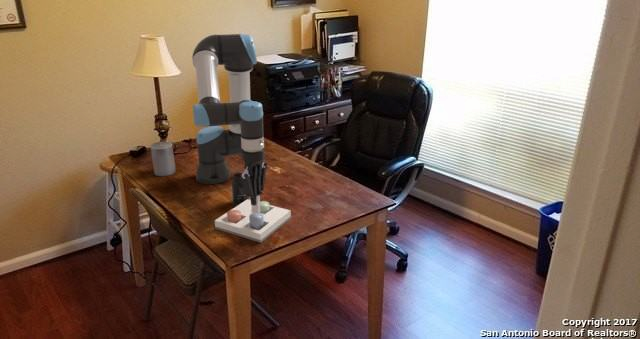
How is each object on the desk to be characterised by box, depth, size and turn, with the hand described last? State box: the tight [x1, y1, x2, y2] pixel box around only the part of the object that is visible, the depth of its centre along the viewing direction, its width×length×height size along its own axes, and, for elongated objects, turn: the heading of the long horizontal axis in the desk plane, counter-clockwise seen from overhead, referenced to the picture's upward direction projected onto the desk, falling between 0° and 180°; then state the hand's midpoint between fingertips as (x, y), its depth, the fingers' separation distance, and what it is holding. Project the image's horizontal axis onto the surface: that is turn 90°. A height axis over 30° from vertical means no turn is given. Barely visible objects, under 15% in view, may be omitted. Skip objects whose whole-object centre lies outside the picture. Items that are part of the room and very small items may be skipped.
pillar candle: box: [149, 141, 177, 177], centre depth 215 cm, size 10×10×15 cm
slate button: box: [249, 213, 264, 229], centre depth 166 cm, size 5×5×4 cm
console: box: [214, 198, 292, 244], centre depth 173 cm, size 20×20×3 cm
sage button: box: [260, 200, 270, 214], centre depth 177 cm, size 5×5×4 cm
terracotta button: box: [226, 209, 241, 224], centre depth 170 cm, size 5×5×4 cm
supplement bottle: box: [230, 172, 250, 206], centre depth 188 cm, size 7×7×12 cm
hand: (256, 211), depth 164 cm, fingers closed
